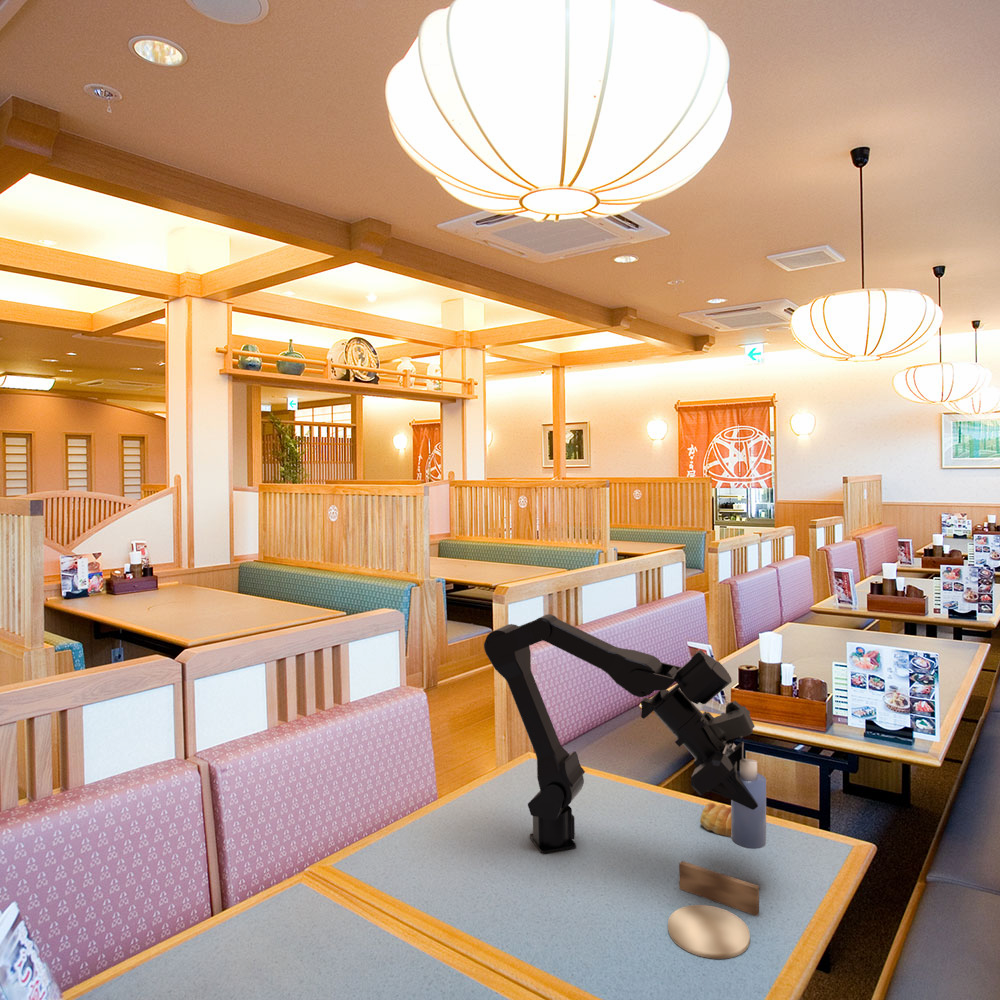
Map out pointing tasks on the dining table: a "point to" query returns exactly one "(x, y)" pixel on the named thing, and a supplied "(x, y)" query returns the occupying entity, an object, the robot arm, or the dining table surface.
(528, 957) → the dining table surface
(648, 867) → the dining table surface
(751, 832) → the soy bottle
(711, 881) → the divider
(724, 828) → the pastry
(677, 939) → the disc
